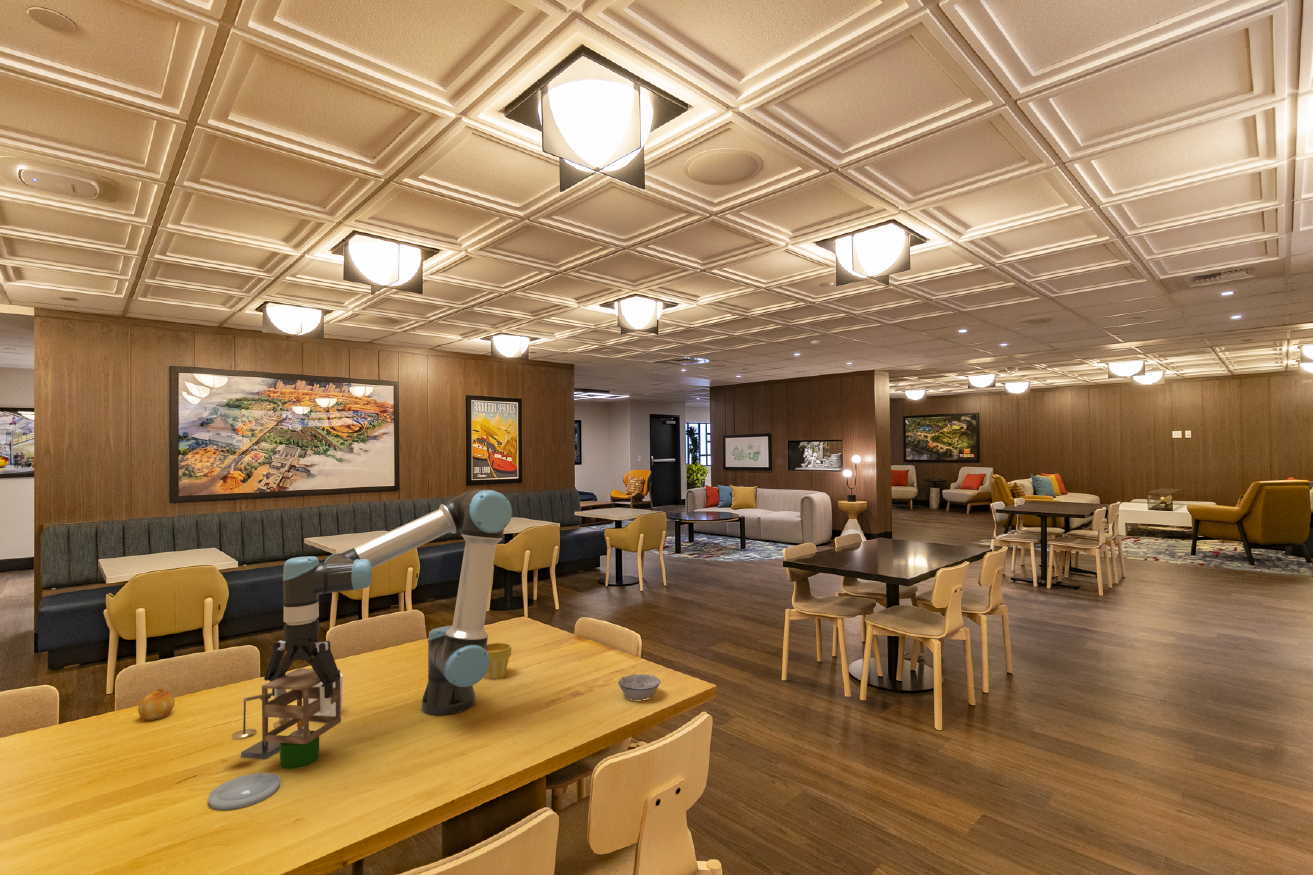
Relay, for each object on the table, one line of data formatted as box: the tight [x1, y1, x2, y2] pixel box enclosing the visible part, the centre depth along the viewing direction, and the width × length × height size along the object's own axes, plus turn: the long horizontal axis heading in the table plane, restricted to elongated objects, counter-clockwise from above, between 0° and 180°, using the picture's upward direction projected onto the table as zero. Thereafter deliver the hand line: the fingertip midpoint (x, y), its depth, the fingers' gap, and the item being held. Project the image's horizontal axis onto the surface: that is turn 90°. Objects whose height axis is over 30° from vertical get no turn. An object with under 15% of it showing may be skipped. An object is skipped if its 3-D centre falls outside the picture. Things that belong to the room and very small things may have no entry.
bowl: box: [617, 673, 661, 701], centre depth 187 cm, size 13×13×5 cm
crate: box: [261, 667, 342, 744], centre depth 149 cm, size 12×12×13 cm
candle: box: [279, 719, 320, 770], centre depth 149 cm, size 8×8×10 cm
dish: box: [207, 772, 281, 811], centre depth 134 cm, size 13×13×1 cm
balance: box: [231, 689, 292, 760], centre depth 154 cm, size 7×18×16 cm, turn 170°
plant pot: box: [484, 641, 512, 680], centre depth 207 cm, size 10×10×10 cm
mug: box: [309, 672, 344, 716], centre depth 174 cm, size 9×12×11 cm
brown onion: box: [137, 688, 175, 721], centre depth 176 cm, size 8×8×8 cm
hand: (302, 710), depth 149 cm, fingers closed on crate, 12 cm apart
